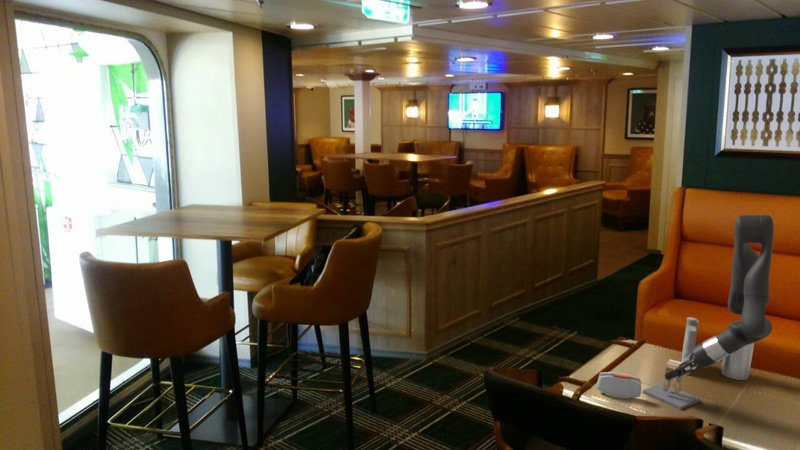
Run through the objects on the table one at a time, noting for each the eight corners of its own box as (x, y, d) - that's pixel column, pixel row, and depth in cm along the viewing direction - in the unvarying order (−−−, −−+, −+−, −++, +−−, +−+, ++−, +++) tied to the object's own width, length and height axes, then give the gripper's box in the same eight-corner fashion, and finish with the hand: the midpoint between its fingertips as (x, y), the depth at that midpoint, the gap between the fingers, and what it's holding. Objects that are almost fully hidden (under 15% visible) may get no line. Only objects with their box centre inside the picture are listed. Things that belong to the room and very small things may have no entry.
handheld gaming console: (639, 397, 214) (642, 376, 213) (640, 401, 211) (643, 379, 210) (595, 390, 218) (598, 369, 216) (596, 394, 215) (598, 372, 214)
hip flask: (689, 375, 235) (697, 325, 231) (677, 373, 237) (685, 323, 233) (692, 361, 249) (699, 314, 245) (681, 359, 251) (688, 311, 247)
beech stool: (666, 386, 219) (669, 359, 217) (680, 390, 216) (684, 363, 214) (662, 390, 215) (666, 363, 213) (677, 394, 212) (681, 367, 210)
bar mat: (662, 385, 225) (662, 382, 225) (699, 401, 214) (699, 398, 214) (642, 392, 218) (643, 390, 218) (680, 409, 207) (680, 406, 207)
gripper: (707, 335, 214) (665, 359, 222) (699, 347, 202) (656, 372, 211) (722, 354, 212) (679, 377, 221) (715, 367, 200) (670, 391, 209)
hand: (668, 375), depth 216 cm, fingers closed on beech stool, 4 cm apart
